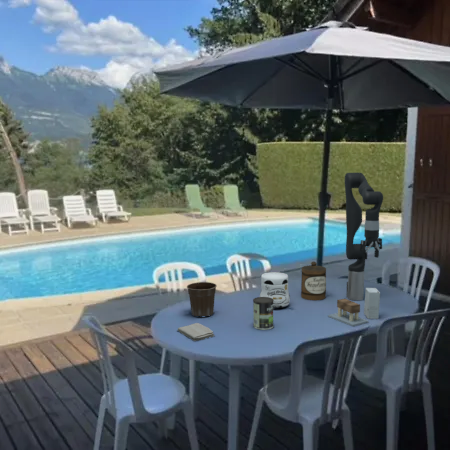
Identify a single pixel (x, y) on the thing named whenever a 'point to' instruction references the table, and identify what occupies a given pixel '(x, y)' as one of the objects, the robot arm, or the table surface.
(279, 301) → the milk container
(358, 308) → the plank
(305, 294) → the wooden container
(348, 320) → the peg stand
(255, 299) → the coffee can
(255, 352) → the table surface
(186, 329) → the washcloth
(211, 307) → the plant pot
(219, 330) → the table surface
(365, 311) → the skincare box
